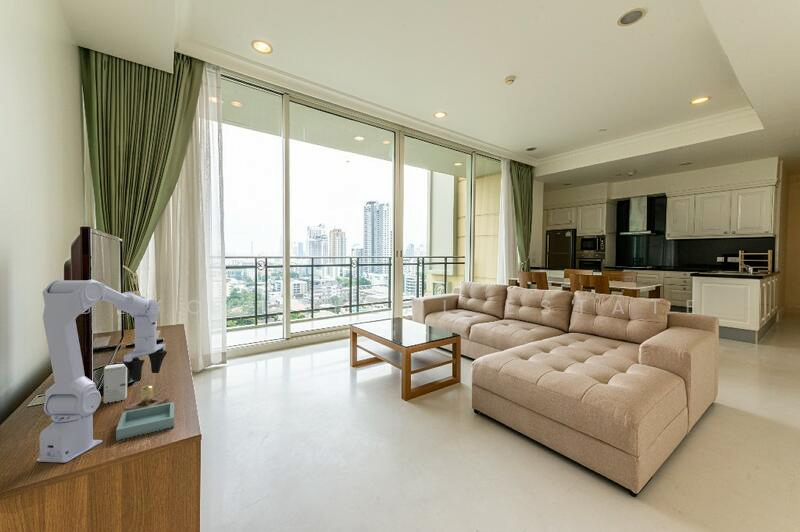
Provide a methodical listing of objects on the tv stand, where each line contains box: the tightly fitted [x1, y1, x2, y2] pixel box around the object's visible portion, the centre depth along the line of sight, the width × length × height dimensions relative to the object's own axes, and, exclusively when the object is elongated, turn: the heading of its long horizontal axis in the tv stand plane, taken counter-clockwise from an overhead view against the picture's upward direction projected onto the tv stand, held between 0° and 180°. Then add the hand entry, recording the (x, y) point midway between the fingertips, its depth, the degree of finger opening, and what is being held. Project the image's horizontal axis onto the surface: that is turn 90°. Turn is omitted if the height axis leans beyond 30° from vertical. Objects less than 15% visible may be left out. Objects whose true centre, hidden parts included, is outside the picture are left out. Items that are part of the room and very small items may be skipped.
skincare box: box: [103, 363, 128, 404], centre depth 118 cm, size 6×4×12 cm
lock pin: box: [140, 384, 153, 406], centre depth 112 cm, size 3×3×7 cm
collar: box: [123, 396, 170, 412], centre depth 112 cm, size 8×8×2 cm
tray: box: [115, 401, 175, 442], centre depth 100 cm, size 13×13×3 cm
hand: (146, 376), depth 112 cm, fingers open, 7 cm apart
